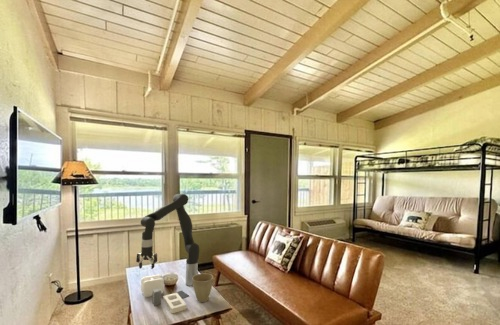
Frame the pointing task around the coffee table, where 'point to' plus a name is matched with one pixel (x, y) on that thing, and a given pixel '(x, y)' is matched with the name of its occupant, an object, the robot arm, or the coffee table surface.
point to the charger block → (156, 297)
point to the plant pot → (202, 286)
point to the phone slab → (182, 294)
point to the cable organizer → (151, 284)
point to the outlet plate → (174, 302)
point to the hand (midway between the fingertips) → (146, 268)
